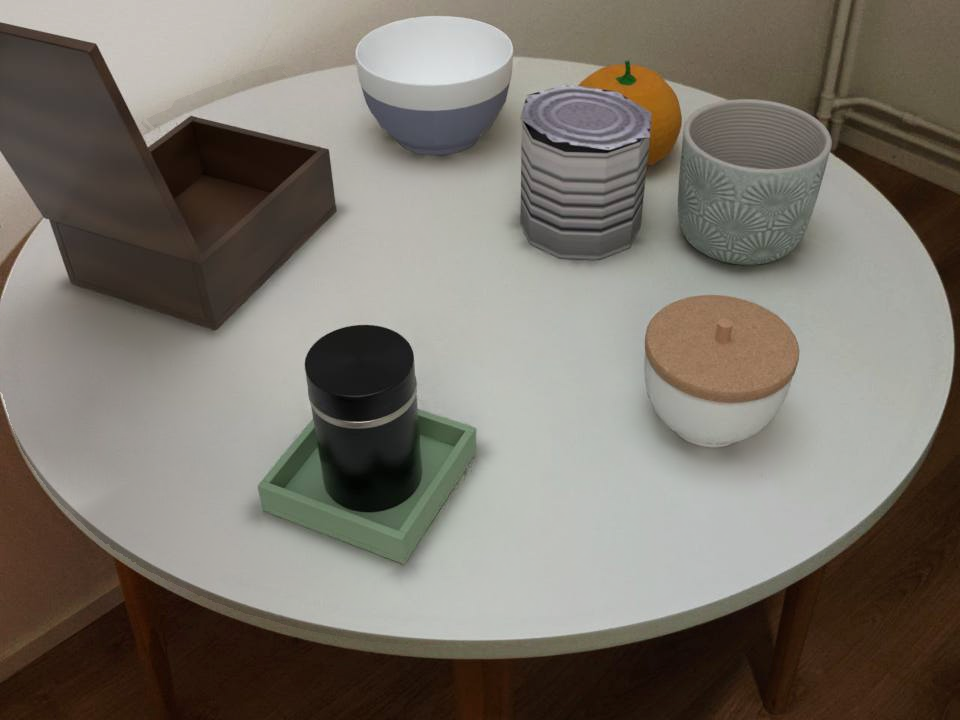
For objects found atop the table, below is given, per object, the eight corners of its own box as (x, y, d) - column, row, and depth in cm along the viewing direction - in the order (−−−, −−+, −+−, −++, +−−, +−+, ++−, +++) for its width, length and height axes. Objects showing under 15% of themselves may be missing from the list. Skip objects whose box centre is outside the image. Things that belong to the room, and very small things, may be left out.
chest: (203, 176, 106) (190, 115, 102) (336, 211, 101) (329, 148, 97) (70, 284, 93) (48, 219, 89) (215, 330, 88) (200, 265, 83)
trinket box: (807, 453, 77) (834, 356, 70) (671, 485, 75) (686, 388, 68) (740, 359, 84) (759, 265, 78) (615, 386, 82) (624, 291, 76)
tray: (404, 564, 70) (402, 539, 68) (262, 510, 73) (256, 485, 72) (476, 452, 77) (476, 427, 75) (344, 408, 81) (341, 383, 79)
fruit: (542, 139, 111) (545, 50, 104) (638, 115, 114) (647, 27, 108) (598, 194, 103) (605, 101, 96) (699, 166, 106) (713, 75, 100)
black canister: (392, 526, 71) (380, 410, 64) (303, 493, 74) (282, 377, 66) (440, 456, 76) (433, 341, 69) (354, 427, 78) (340, 312, 71)
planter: (786, 294, 91) (811, 185, 83) (650, 256, 95) (663, 150, 88) (821, 221, 99) (847, 116, 92) (694, 189, 103) (709, 87, 96)
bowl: (332, 145, 110) (322, 59, 104) (421, 85, 120) (417, 3, 114) (457, 189, 104) (454, 100, 97) (540, 122, 114) (543, 37, 107)
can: (522, 190, 103) (524, 77, 96) (639, 194, 103) (650, 81, 95) (516, 259, 95) (517, 141, 87) (643, 264, 94) (656, 145, 86)
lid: (-84, 2, 72) (-93, 10, 71) (96, 43, 67) (88, 51, 66) (50, 210, 88) (43, 218, 88) (202, 255, 83) (196, 264, 83)
